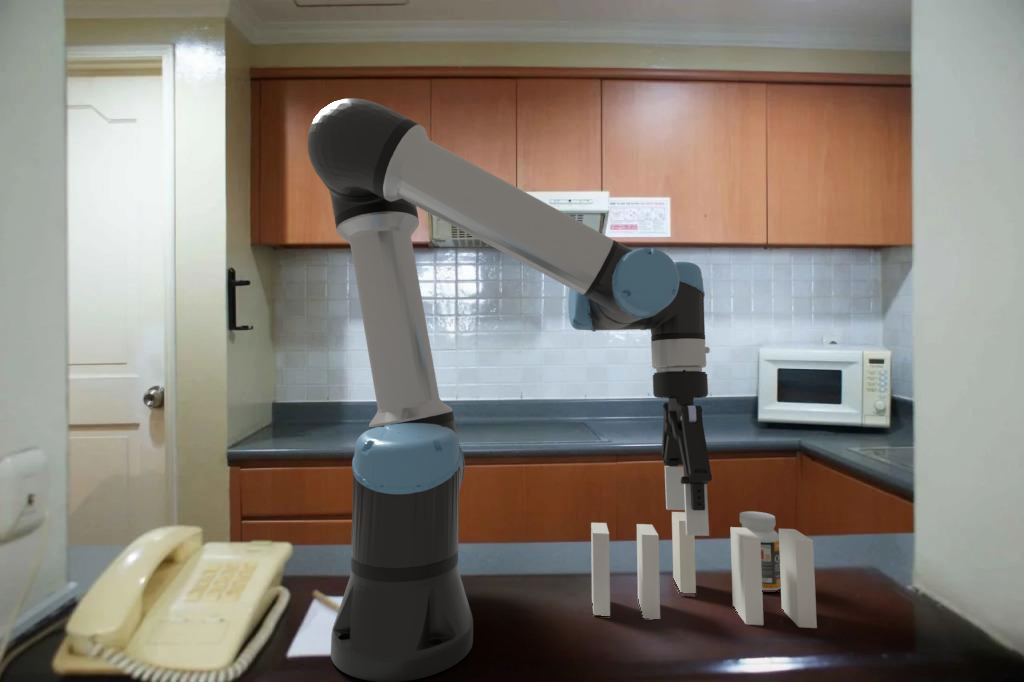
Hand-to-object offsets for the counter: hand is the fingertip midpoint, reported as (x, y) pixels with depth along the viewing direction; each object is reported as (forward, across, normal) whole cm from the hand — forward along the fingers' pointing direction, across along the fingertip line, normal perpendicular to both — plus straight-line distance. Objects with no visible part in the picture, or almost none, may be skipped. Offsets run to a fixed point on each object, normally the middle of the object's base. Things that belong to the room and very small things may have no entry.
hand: (685, 521), depth 73 cm
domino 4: (+9, -8, -5) cm, 13 cm away
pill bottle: (+10, +2, -10) cm, 14 cm away
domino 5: (+10, -8, -11) cm, 17 cm away
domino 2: (+9, -8, +7) cm, 14 cm away
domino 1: (+9, -8, +13) cm, 17 cm away
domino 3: (+9, 0, +1) cm, 9 cm away
